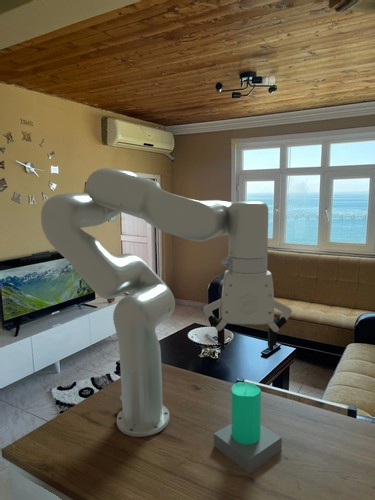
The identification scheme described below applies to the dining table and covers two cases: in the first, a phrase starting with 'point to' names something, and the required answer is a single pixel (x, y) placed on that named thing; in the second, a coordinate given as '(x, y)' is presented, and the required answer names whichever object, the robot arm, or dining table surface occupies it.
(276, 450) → the plinth
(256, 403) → the candle
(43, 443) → the dining table surface
